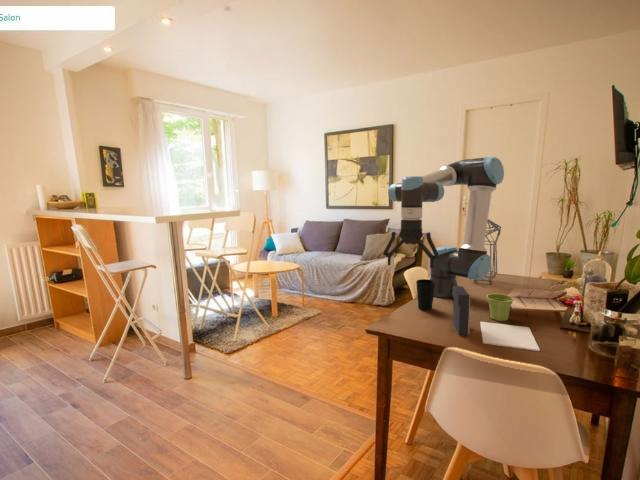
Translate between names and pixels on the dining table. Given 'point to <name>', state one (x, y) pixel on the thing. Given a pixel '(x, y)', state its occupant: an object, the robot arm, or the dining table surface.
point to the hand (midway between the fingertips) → (410, 275)
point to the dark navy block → (461, 310)
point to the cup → (425, 294)
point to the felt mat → (508, 336)
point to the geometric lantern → (493, 249)
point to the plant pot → (499, 306)
